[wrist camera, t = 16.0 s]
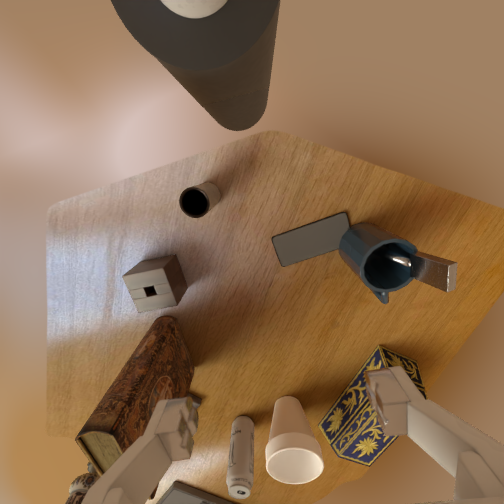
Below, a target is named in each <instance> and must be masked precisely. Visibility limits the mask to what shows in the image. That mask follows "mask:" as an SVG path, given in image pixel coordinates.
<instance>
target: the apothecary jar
mask: <svg viewBox="0 0 504 504" xmlns="http://www.w3.org/2000/svg"><path fill="white" fill-rule="evenodd" d="M87 465H88V471H89V472H90V473H86V474H83V475H81V476H79V477H77V478H76V479H75V480H74V481H73V482H72V484H71V486H70V490H69V494H70V496H69V498H68V500H67V502H66V503H65V504H81V503H82V501H83V499H84V497H85V495H86V494H87V492H88V490H89V489H90V488H91V487H92V486H93V485H94V483H95V482H96V481H97V480H98V479H99V478H100V476H99V474H98V473H97V471H96V470H95V468H94V467H93V466H92V464H91V463H90V461H89V462H88V464H87Z"/></svg>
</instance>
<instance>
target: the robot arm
mask: <svg viewBox="0 0 504 504" xmlns="http://www.w3.org/2000/svg"><path fill="white" fill-rule="evenodd" d="M227 1H228V0H161V2H162V3H163V4H164V5H165V6H166V7H168V8H169V9H170V10H171V11H173V12H175V13H176V14H178V15H181V16H183V17H187V18H203V17H207V16H209V15H211V14H213V13H215V12H217V11H218V10H219V9H220V8H222V7H223V6H224V4H225V3H226V2H227ZM364 377H365V379H366V381H367V383H366V385H365V387H366V393H367V397H368V400H369V402H370V405H371V407H372V409H373V410H374V411H376V412H377V420H378V422H379V424H380V426H381V428H382V430H383V432H384V434H385V436H396V435H408V436H409V437H410V438H411V439H412V440H413V441H414V442H415V443H416V444H418V445H419V446H420V447H421V448H422V449H423V450H425V452H427V453H428V454H429V455H430V456H431V457H432V458H433V459H434V460H436V461H437V462H438V463H439V464H440V465H441V466H442V467H443V468H445V469H446V470H447V471H448V472H449V473H450V474H451V475H452V476H454V477H455V478H456V481H455V489H454V500H452V501H440V502H428V503H418V504H504V445H503V444H501V443H500V442H498V441H496V440H495V439H493V438H492V437H490V436H488V435H487V434H485V433H483V432H482V431H480V430H479V429H477V428H475V427H474V426H472V425H470V424H469V423H467V422H465V421H464V420H462V419H461V418H459V417H457V416H455V415H454V414H452V413H451V412H449V411H447V410H446V409H444V408H442V407H441V406H439V405H438V404H436V403H434V402H433V401H431V400H430V399H428V400H425V398H424V397H423V396H422V394H421V393H420V391H419V390H418V389H417V387H416V386H415V384H414V383H413V382H412V380H411V379H410V378H409V376H408V375H407V373H406V372H405V371H404V369H403V368H402V367H401V366H395V367H388V368H381V369H374V370H368V371H365V372H364ZM192 404H193V400H192V398H191V397H182V398H173V399H165V400H160V401H159V402H158V403H157V405H156V407H155V409H154V412H153V414H152V416H151V419H150V421H149V423H148V425H147V428H146V430H145V432H144V435H143V436H140V437H139V438H138V439H137V440H136V441H135V442H134V443H133V444H132V445H131V446H130V447H129V448H128V449H127V450H126V451H125V452H124V453H123V454H122V456H121V457H120V458H119V459H118V460H117V461H116V462H115V463H114V464H113V465H112V466H111V467H110V468H109V469H108V470H107V471H106V472H105V473H104V474H103V475H102V476H101V477H100V478H99V479H98V480H97V481H96V482H95V483H94V485H93V486H92V487H91V488H90V489H89V490H88V492H87V494H86V495H85V497H84V499H83V501H82V503H81V504H145V502H146V501H147V499H148V498H149V497H150V495H151V494H152V492H153V491H154V489H155V488H156V486H157V485H158V483H159V482H160V480H161V479H162V477H163V476H164V474H165V473H166V471H167V470H168V468H169V467H170V465H171V464H172V461H179V460H185V459H190V457H191V453H192V449H193V445H194V440H193V438H192V437H193V435H194V434H195V433H196V432H197V428H198V412H197V409H196V408H195V407H193V406H192Z"/></svg>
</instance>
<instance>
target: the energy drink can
mask: <svg viewBox="0 0 504 504" xmlns="http://www.w3.org/2000/svg"><path fill="white" fill-rule="evenodd" d="M253 469H254V423H253V422H252V420H251V418H249V417H247V416H239V417H237V418H236V419H235V421H234V422H233V423H232V432H231V441H230V451H229V461H228V470H227V480H226V483H227V486H228V494H229V495H230V496H231V497H233V498H236V499H244V498H247V497H248V496H249V495H250V490H251V488H252V486H253Z"/></svg>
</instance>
